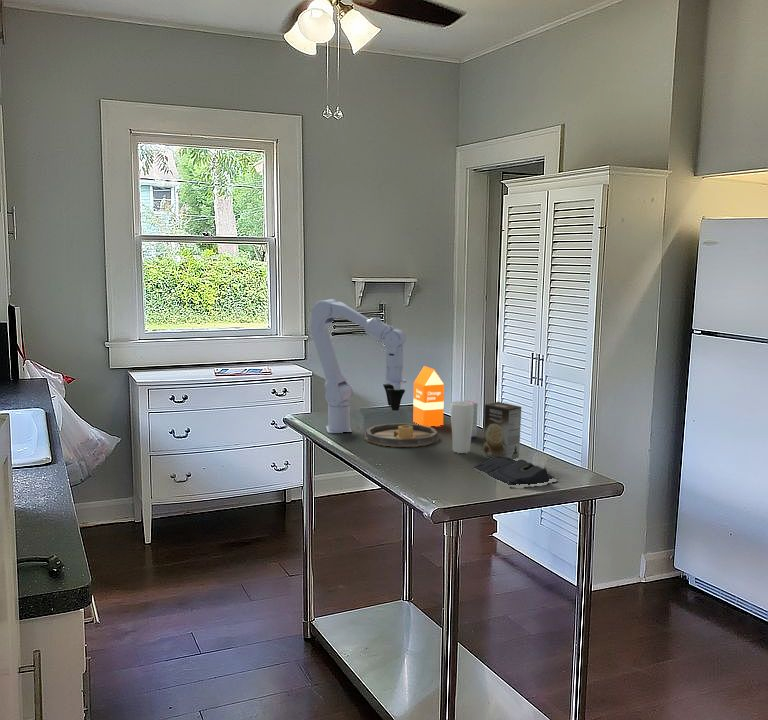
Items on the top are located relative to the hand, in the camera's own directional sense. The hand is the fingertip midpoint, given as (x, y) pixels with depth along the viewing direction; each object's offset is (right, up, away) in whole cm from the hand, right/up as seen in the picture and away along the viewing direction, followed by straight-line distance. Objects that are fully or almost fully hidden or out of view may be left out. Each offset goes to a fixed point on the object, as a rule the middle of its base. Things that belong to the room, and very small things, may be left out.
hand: (393, 408), depth 255 cm
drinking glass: (+20, -12, -18) cm, 30 cm away
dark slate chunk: (+32, -16, -43) cm, 56 cm away
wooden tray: (+3, -10, -2) cm, 10 cm away
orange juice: (+12, -7, +19) cm, 24 cm away
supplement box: (+23, -10, +1) cm, 25 cm away
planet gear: (+4, -10, -8) cm, 13 cm away
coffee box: (+31, -14, -26) cm, 43 cm away
